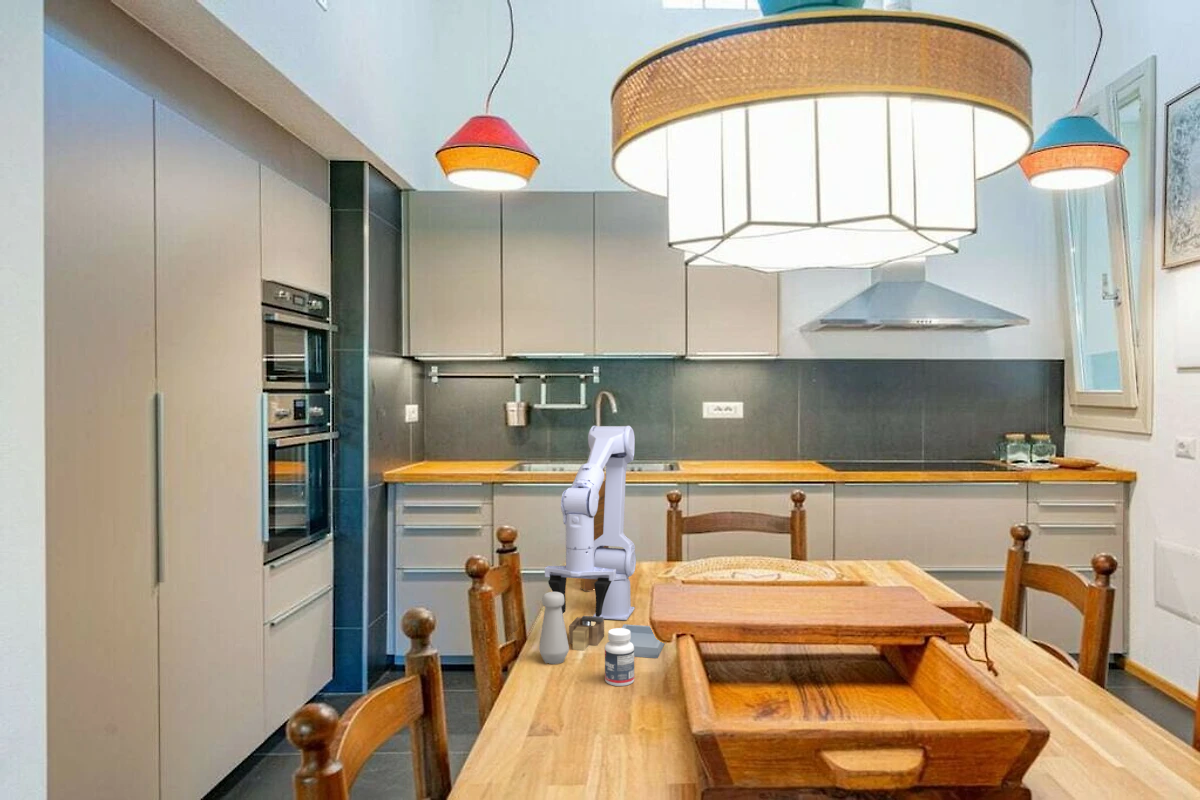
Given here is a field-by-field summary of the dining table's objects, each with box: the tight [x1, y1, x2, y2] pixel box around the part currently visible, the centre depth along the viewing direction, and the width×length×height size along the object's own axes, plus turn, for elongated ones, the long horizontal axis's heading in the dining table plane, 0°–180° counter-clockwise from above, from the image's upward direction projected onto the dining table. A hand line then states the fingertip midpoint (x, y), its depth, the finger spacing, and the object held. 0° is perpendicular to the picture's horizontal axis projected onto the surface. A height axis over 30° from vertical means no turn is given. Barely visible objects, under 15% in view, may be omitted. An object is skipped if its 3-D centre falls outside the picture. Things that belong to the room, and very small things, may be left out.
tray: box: [621, 623, 665, 659], centre depth 147 cm, size 13×10×2 cm
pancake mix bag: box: [580, 479, 610, 592], centre depth 196 cm, size 7×19×28 cm, turn 163°
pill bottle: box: [604, 627, 635, 687], centre depth 129 cm, size 5×5×9 cm
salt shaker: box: [538, 591, 570, 665], centre depth 139 cm, size 6×6×13 cm
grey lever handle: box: [581, 615, 603, 626], centre depth 150 cm, size 3×5×5 cm, turn 76°
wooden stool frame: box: [568, 616, 605, 651], centre depth 149 cm, size 9×6×4 cm, turn 166°
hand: (580, 613), depth 146 cm, fingers open, 7 cm apart
